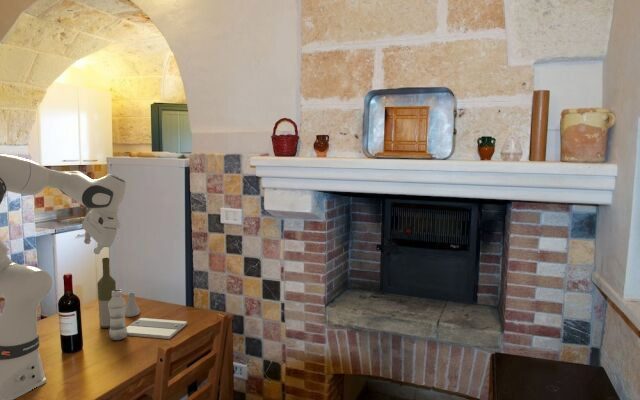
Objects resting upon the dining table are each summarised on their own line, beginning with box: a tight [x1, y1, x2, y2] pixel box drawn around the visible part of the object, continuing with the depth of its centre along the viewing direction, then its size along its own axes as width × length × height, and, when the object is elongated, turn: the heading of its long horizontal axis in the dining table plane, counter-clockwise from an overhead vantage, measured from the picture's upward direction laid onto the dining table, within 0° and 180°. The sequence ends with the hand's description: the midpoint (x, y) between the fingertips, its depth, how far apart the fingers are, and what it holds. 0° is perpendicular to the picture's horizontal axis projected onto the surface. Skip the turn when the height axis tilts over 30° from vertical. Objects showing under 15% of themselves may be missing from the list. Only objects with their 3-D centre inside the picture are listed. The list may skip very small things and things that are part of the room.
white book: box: [126, 317, 188, 340], centre depth 190 cm, size 16×22×2 cm
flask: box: [125, 292, 141, 318], centre depth 206 cm, size 7×7×10 cm
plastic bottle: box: [108, 289, 128, 341], centre depth 179 cm, size 6×7×20 cm
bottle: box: [96, 257, 117, 329], centre depth 191 cm, size 7×7×30 cm
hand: (91, 248), depth 172 cm, fingers open, 8 cm apart
